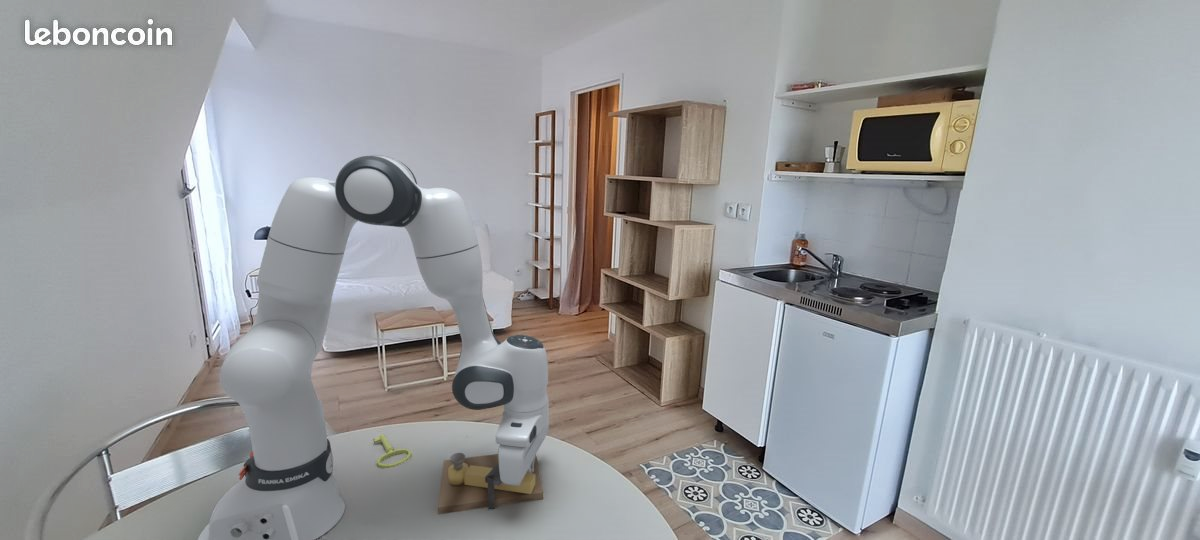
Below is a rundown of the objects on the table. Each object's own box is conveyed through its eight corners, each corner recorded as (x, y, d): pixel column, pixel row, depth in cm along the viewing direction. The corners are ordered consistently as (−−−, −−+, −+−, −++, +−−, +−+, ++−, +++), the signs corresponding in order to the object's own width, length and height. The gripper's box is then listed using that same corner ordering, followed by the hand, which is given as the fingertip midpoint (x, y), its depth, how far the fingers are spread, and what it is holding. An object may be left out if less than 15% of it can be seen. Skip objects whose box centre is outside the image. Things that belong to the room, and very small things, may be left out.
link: (445, 483, 96) (444, 473, 95) (454, 471, 100) (453, 461, 99) (529, 495, 93) (529, 485, 92) (536, 482, 97) (536, 472, 96)
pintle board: (437, 519, 88) (435, 487, 87) (444, 466, 104) (442, 438, 103) (544, 503, 93) (543, 473, 92) (535, 455, 109) (535, 428, 107)
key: (383, 440, 114) (382, 432, 114) (415, 457, 108) (415, 449, 107) (354, 455, 108) (353, 447, 108) (387, 474, 102) (386, 465, 101)
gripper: (528, 389, 105) (529, 445, 108) (491, 440, 85) (494, 507, 88) (555, 392, 104) (556, 448, 107) (524, 444, 84) (526, 511, 87)
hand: (527, 475), depth 97 cm, fingers closed
